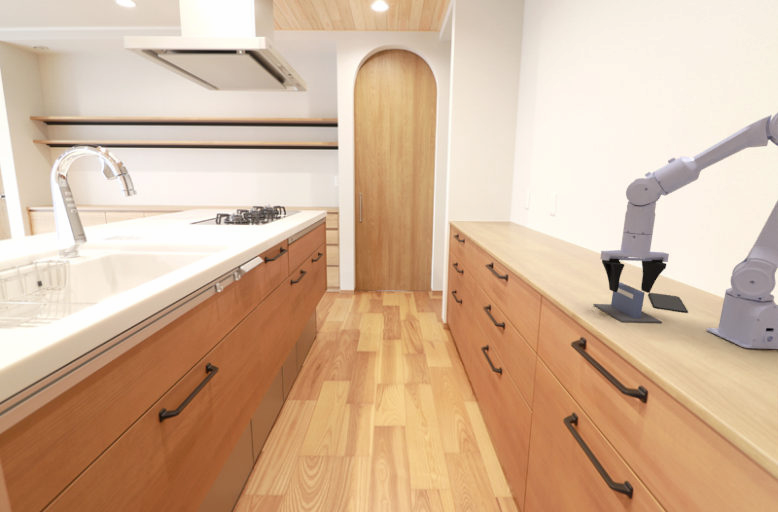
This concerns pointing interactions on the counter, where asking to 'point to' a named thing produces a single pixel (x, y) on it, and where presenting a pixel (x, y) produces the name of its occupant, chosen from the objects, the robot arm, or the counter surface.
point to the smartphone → (667, 302)
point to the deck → (628, 300)
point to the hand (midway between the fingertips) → (629, 291)
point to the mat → (624, 317)
